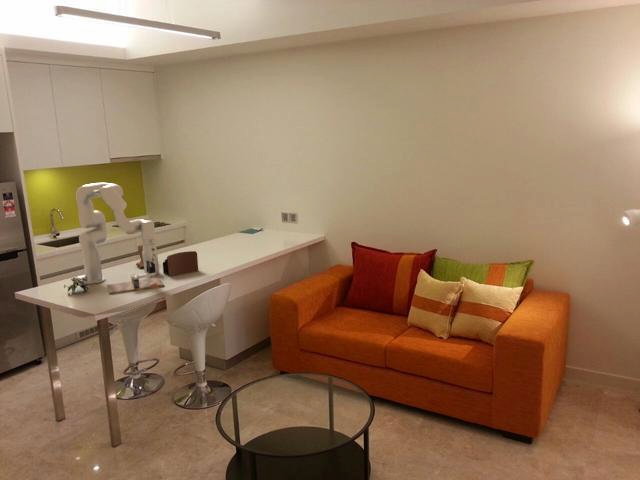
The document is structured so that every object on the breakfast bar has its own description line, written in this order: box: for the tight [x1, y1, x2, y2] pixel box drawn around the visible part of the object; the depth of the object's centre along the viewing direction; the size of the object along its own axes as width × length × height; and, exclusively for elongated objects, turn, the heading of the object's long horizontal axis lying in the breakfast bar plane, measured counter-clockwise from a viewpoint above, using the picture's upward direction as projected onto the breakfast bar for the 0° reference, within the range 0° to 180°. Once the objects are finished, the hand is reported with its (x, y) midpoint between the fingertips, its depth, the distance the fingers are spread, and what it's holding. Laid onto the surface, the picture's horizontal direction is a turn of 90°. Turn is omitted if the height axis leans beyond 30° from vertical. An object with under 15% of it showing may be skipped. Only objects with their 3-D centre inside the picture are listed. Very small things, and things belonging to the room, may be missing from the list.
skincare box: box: [142, 252, 160, 275], centre depth 345 cm, size 8×6×15 cm
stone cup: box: [135, 244, 144, 269], centre depth 366 cm, size 15×12×15 cm
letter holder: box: [162, 250, 200, 278], centre depth 346 cm, size 10×20×14 cm, turn 126°
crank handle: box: [132, 262, 157, 280], centre depth 314 cm, size 14×4×8 cm, turn 137°
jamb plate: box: [106, 273, 165, 296], centre depth 317 cm, size 30×18×6 cm, turn 115°
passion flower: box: [63, 276, 90, 295], centre depth 308 cm, size 11×11×12 cm
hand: (151, 272), depth 318 cm, fingers closed on crank handle, 3 cm apart
